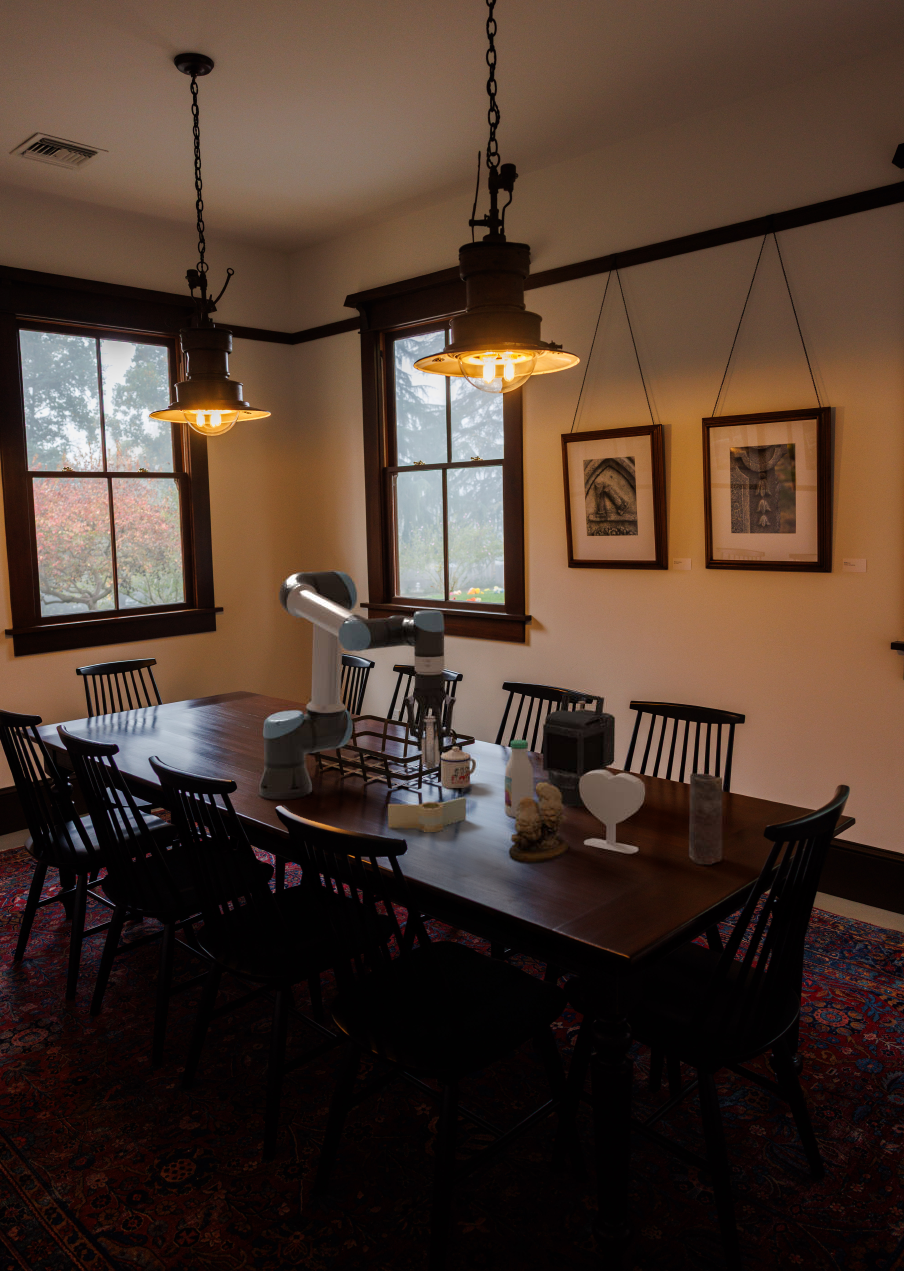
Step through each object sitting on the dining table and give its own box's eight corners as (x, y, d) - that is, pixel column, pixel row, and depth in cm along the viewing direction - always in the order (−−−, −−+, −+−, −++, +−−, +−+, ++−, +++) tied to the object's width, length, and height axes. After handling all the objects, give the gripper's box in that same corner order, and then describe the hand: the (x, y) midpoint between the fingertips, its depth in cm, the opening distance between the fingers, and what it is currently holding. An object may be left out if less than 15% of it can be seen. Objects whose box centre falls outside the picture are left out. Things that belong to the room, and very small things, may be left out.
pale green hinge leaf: (428, 834, 218) (428, 811, 217) (414, 827, 223) (414, 805, 222) (472, 822, 227) (472, 800, 226) (457, 816, 232) (457, 794, 231)
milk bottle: (536, 810, 236) (536, 739, 234) (529, 819, 229) (529, 745, 226) (509, 808, 239) (509, 737, 236) (501, 816, 231) (501, 743, 229)
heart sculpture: (645, 848, 207) (646, 775, 205) (637, 855, 203) (638, 780, 201) (585, 836, 216) (586, 766, 213) (576, 842, 211) (577, 771, 209)
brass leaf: (386, 831, 221) (386, 808, 220) (390, 823, 227) (390, 800, 226) (441, 833, 219) (441, 810, 218) (444, 824, 225) (444, 802, 224)
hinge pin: (421, 768, 219) (421, 719, 217) (424, 764, 223) (423, 715, 221) (437, 769, 218) (436, 719, 217) (439, 765, 222) (439, 716, 221)
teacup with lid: (452, 791, 254) (452, 752, 253) (434, 784, 262) (434, 746, 260) (484, 784, 261) (484, 746, 260) (466, 777, 269) (466, 740, 267)
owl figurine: (541, 835, 217) (542, 769, 215) (581, 847, 209) (582, 778, 207) (496, 855, 203) (497, 785, 201) (538, 868, 196) (539, 795, 194)
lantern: (537, 800, 245) (537, 696, 242) (573, 786, 258) (574, 687, 255) (581, 811, 235) (582, 702, 231) (617, 796, 248) (618, 693, 244)
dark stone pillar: (683, 854, 203) (685, 771, 201) (714, 853, 204) (716, 770, 202) (695, 866, 196) (697, 780, 193) (726, 865, 196) (729, 779, 194)
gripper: (395, 674, 215) (397, 766, 217) (459, 674, 213) (460, 768, 216) (401, 669, 222) (402, 759, 225) (462, 670, 220) (463, 760, 223)
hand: (430, 763), depth 220 cm, fingers closed on hinge pin, 3 cm apart
